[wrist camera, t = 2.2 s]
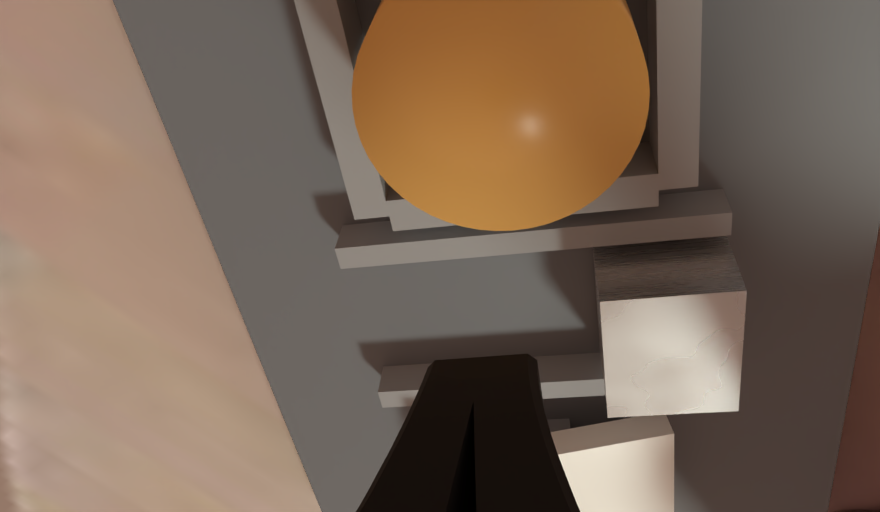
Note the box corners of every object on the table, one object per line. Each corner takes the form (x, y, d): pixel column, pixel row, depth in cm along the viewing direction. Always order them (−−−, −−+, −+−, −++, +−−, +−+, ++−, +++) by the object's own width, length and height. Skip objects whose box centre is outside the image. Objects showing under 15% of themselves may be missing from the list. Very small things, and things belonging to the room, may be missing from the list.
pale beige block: (723, 226, 18) (746, 290, 16) (718, 341, 20) (738, 411, 18) (591, 237, 19) (599, 301, 17) (600, 349, 21) (607, 417, 19)
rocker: (664, 411, 21) (675, 435, 21) (665, 511, 24) (674, 536, 23) (432, 453, 21) (434, 479, 21) (457, 549, 24) (460, 575, 23)
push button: (632, -100, 13) (646, -69, 11) (639, 163, 16) (652, 218, 14) (342, -54, 14) (318, -19, 12) (398, 188, 17) (385, 242, 15)
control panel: (930, -351, 14) (1032, -360, 11) (801, 510, 27) (831, 603, 25) (91, -185, 16) (3, -158, 14) (355, 523, 30) (339, 608, 27)
